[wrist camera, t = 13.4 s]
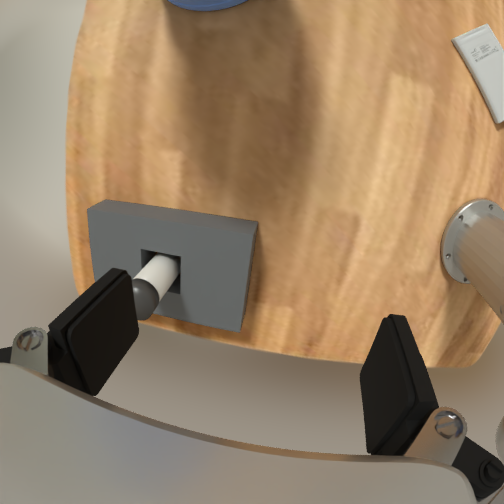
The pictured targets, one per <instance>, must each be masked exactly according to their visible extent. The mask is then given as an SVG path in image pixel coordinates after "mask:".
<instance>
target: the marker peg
mask: <svg viewBox="0 0 504 504" xmlns="http://www.w3.org/2000/svg"><path fill="white" fill-rule="evenodd" d="M180 272H181V256H176V255H170V254H165V253H160V252H158V253H157V254H156V255H155V256H154V257H153V258H152V259H151V260H150V261H149V262H148V264H147V265H146V266H145V267H144V268H143V269H142V270H141V271H140V272H139V273H138V274H137V275H136V276H135V277H134V278H133V279H132V286H133V293H134V301H135V308H136V315H137V320H146V319H148V318H149V317H150V316H151V315H152V313H153V312H154V310H155V309H156V307H157V306H158V304H159V302H160V300H161V299H162V297H163V296H164V294H165V293H166V292H167V290H168V289H169V287H170V286H171V285H172V283H173V282H174V280H175V279H176V278H177V276H178V275H179V273H180Z"/></svg>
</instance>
